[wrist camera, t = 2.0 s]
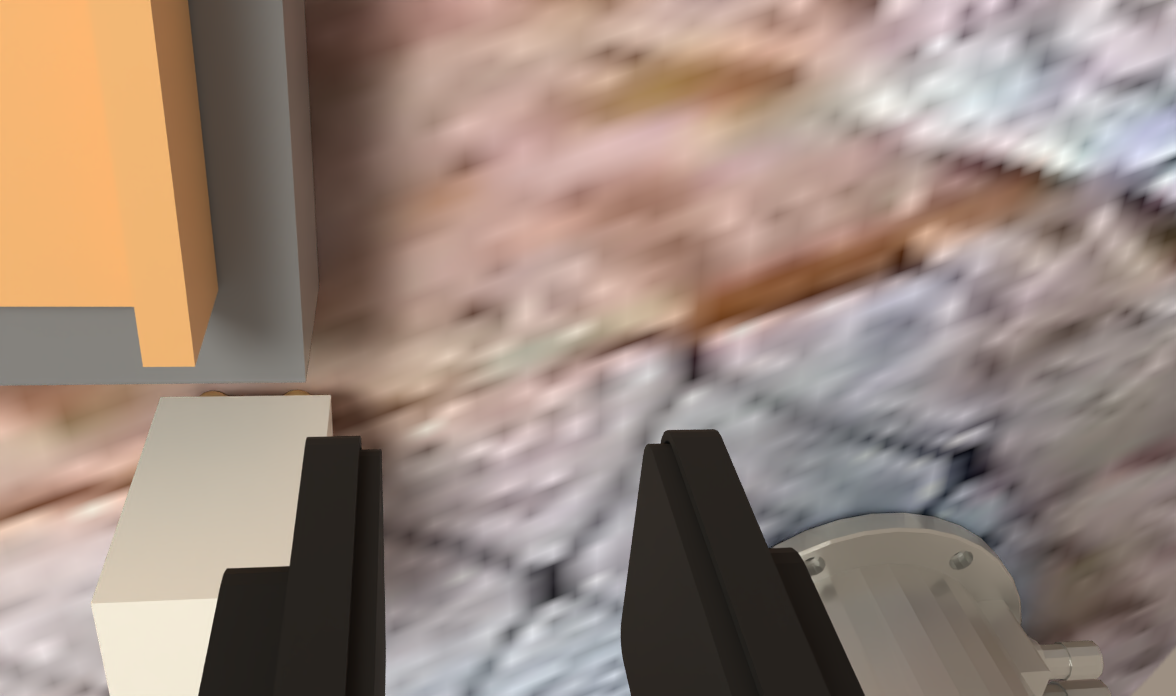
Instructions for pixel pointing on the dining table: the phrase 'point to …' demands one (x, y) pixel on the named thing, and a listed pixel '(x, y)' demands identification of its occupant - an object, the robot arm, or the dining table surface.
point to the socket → (217, 223)
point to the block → (198, 529)
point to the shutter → (106, 167)
